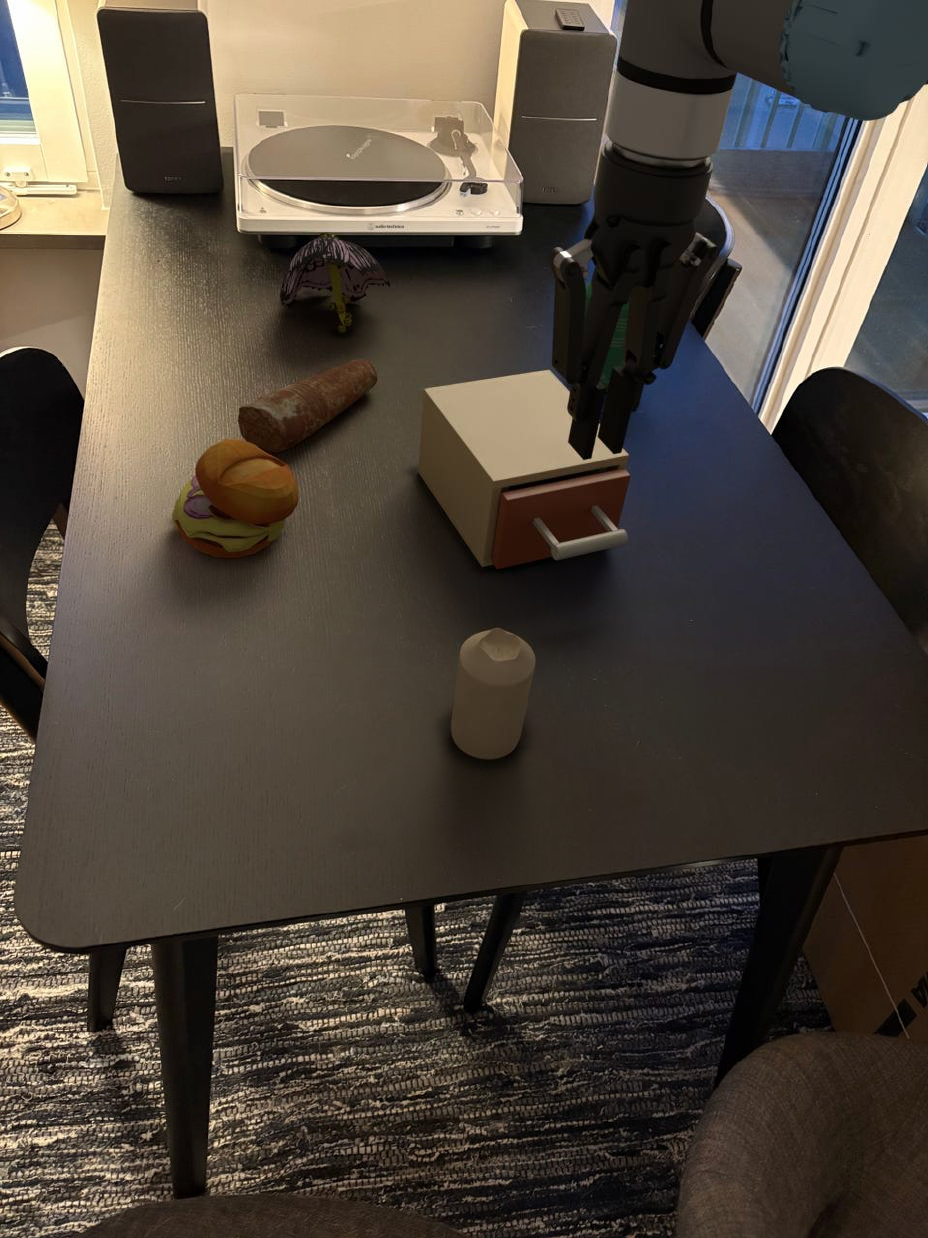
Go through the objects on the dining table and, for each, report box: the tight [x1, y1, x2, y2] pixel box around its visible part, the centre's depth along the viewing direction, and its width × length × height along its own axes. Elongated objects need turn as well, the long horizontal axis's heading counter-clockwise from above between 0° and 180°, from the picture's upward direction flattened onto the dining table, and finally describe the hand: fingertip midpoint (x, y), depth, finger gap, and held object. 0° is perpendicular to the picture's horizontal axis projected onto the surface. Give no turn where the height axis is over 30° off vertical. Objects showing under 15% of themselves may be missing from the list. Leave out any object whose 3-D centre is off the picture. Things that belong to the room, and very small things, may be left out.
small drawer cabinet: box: [417, 369, 630, 568], centre depth 94 cm, size 16×14×10 cm
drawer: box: [492, 467, 632, 570], centre depth 91 cm, size 20×13×8 cm, turn 24°
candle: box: [450, 627, 537, 760], centre depth 72 cm, size 6×6×10 cm
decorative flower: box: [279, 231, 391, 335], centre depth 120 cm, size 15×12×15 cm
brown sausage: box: [237, 358, 378, 453], centre depth 103 cm, size 6×19×6 cm, turn 145°
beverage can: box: [585, 278, 630, 393], centre depth 114 cm, size 8×8×12 cm
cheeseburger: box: [171, 438, 299, 559], centre depth 88 cm, size 10×11×10 cm
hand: (594, 447), depth 80 cm, fingers open, 2 cm apart
